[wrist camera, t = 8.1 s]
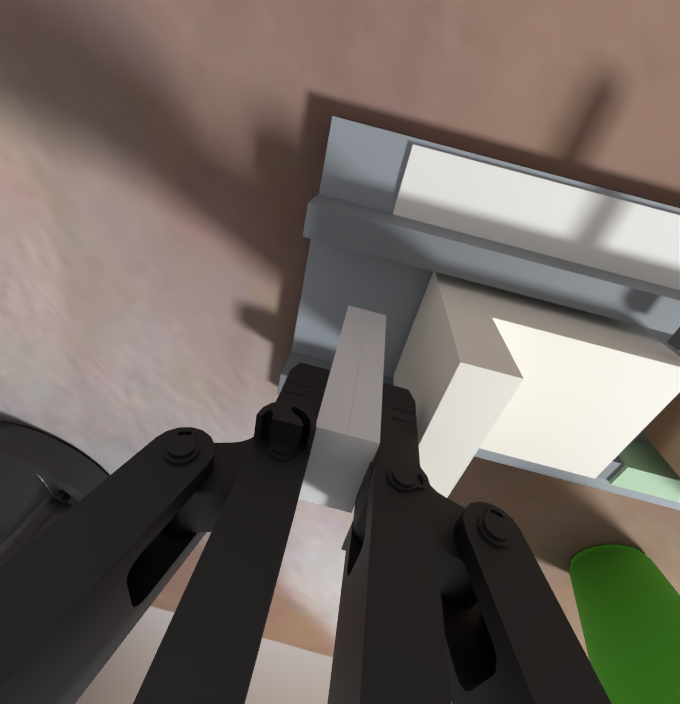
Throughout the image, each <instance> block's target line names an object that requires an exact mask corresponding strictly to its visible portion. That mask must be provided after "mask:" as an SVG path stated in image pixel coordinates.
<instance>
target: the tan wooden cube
mask: <svg viewBox="0 0 680 704" xmlns="http://www.w3.org/2000/svg"><path fill="white" fill-rule="evenodd" d="M642 432H643V433H644V435H645V436H646V437H647V438H648V440H649V441H650V442H651V443H652V444H653V446H654V447H655V448H656V449H657V450H658V452H659V453H660V454H661V455H662V457H663V458H664V459H665V460H666V461H667V463H668V464H669V465H670V466H671V467H672V469H673V470H674V471H675V472H676V474H677V475H678V476H679V477H680V392H679V393H678V394H677V396H676V397H675V398H674V399H673V400H672V401H671V402H670V403H669V404H668V405H667V406H666V407H665V408H664V409H663V410H662V411H661V412H660V413H659V414H658V415H657V416H656V417H655V418H654V419H653V420H652V421H651V422H650V423H649V424H648V425H647V426H646V427H645V428H644V429H643V430H642Z"/></svg>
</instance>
